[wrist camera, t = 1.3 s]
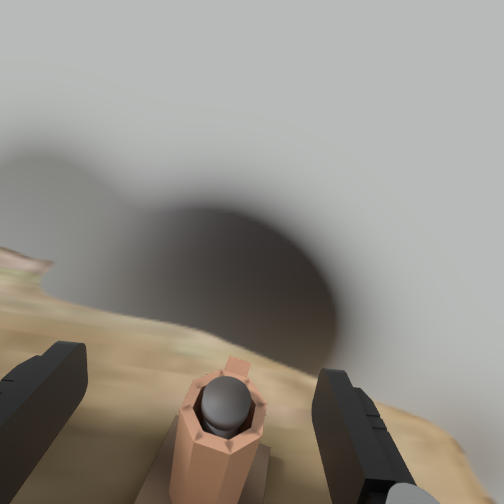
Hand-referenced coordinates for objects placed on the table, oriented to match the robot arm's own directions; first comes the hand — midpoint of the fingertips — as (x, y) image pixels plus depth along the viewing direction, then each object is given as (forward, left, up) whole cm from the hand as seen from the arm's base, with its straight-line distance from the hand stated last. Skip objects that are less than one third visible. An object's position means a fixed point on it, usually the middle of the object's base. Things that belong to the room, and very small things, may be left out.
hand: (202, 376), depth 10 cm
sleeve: (+3, +5, -21) cm, 21 cm away
